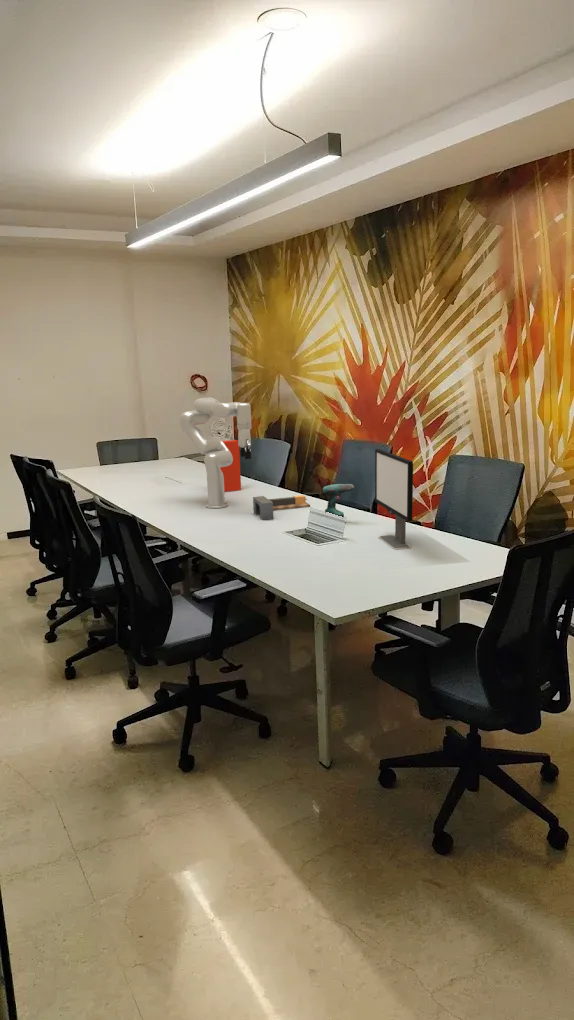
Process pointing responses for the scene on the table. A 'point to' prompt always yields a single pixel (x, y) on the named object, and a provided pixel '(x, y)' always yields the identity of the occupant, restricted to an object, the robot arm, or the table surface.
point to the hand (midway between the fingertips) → (245, 457)
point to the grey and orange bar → (289, 500)
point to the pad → (290, 506)
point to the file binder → (232, 468)
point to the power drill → (335, 496)
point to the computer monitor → (394, 493)
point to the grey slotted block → (263, 507)
